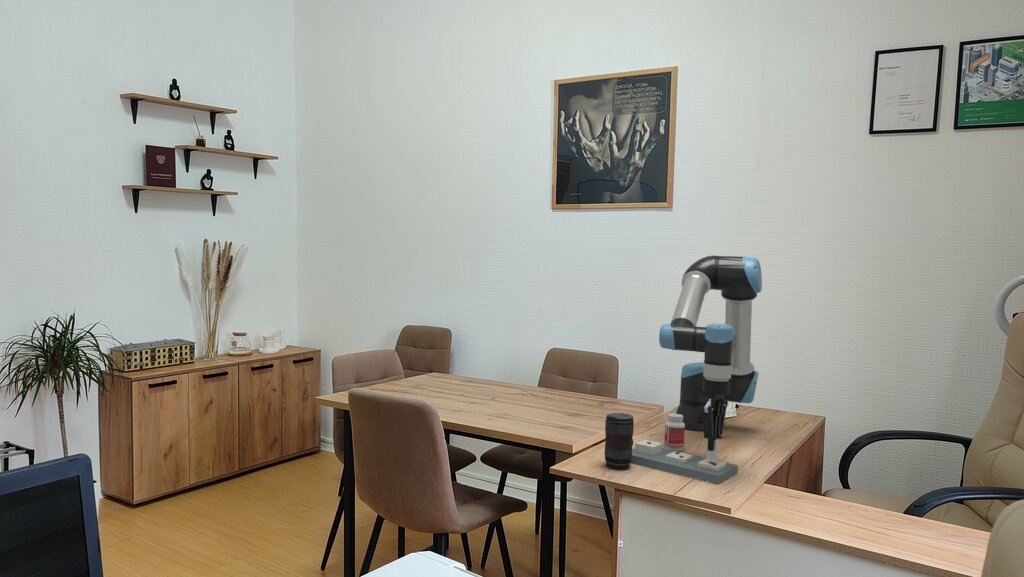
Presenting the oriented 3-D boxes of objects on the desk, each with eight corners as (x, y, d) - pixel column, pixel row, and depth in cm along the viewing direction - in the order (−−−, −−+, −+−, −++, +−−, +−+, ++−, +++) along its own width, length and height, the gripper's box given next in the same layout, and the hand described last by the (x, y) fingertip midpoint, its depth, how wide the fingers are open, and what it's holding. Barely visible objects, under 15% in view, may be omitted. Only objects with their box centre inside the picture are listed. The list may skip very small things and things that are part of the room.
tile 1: (644, 450, 223) (645, 438, 222) (662, 454, 219) (662, 442, 219) (634, 454, 218) (635, 442, 218) (652, 458, 214) (653, 446, 214)
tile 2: (674, 462, 216) (674, 450, 216) (692, 467, 213) (693, 454, 212) (664, 466, 212) (665, 454, 212) (683, 471, 208) (684, 458, 208)
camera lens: (614, 460, 216) (617, 411, 215) (637, 467, 210) (639, 416, 209) (597, 465, 210) (600, 414, 209) (620, 472, 205) (622, 420, 204)
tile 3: (705, 470, 210) (706, 457, 210) (725, 474, 206) (726, 461, 206) (696, 474, 206) (697, 461, 205) (716, 479, 202) (717, 466, 202)
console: (644, 451, 227) (645, 444, 227) (737, 473, 208) (738, 465, 208) (621, 460, 216) (622, 452, 216) (717, 484, 197) (718, 475, 197)
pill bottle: (687, 450, 231) (689, 416, 230) (674, 452, 227) (676, 418, 227) (673, 445, 236) (675, 412, 235) (659, 447, 233) (661, 413, 232)
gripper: (713, 374, 212) (708, 454, 213) (694, 379, 202) (689, 462, 203) (738, 378, 207) (733, 459, 208) (720, 383, 197) (715, 468, 198)
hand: (711, 461), depth 206 cm, fingers closed
